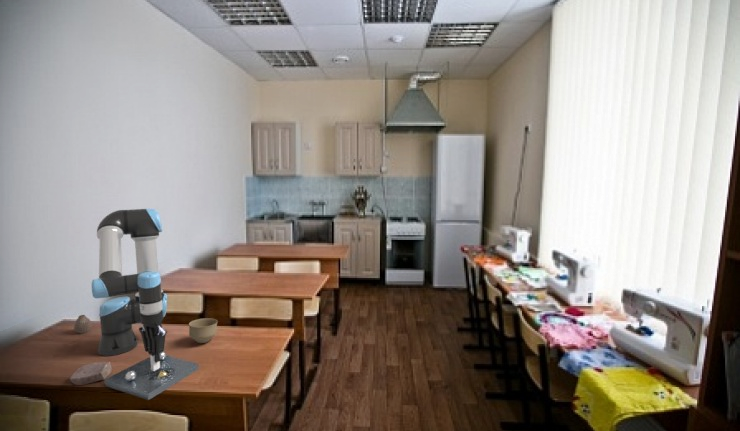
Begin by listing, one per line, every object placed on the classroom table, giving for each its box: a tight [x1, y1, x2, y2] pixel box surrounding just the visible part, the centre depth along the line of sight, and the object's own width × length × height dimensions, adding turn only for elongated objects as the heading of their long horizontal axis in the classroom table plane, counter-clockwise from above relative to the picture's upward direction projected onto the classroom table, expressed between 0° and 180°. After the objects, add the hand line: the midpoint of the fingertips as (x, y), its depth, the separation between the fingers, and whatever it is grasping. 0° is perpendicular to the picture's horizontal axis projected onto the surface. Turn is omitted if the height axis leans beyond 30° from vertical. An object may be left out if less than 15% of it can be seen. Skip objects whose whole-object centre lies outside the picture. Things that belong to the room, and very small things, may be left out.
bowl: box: [188, 317, 218, 344], centre depth 172 cm, size 13×13×10 cm
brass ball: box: [158, 371, 168, 377], centre depth 139 cm, size 4×4×4 cm
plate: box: [104, 354, 199, 401], centre depth 141 cm, size 24×22×2 cm
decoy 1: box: [160, 351, 167, 360], centre depth 150 cm, size 4×4×4 cm
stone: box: [69, 361, 113, 386], centre depth 140 cm, size 9×12×5 cm
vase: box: [73, 314, 92, 335], centre depth 182 cm, size 7×7×9 cm
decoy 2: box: [125, 371, 136, 381], centre depth 135 cm, size 4×4×4 cm
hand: (155, 369), depth 140 cm, fingers closed
